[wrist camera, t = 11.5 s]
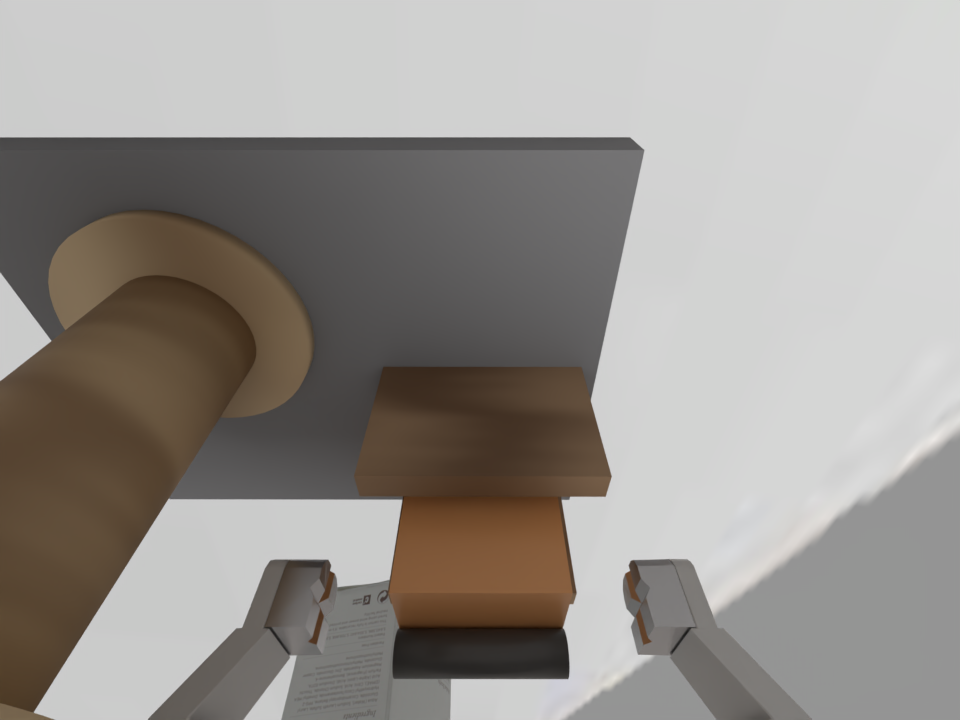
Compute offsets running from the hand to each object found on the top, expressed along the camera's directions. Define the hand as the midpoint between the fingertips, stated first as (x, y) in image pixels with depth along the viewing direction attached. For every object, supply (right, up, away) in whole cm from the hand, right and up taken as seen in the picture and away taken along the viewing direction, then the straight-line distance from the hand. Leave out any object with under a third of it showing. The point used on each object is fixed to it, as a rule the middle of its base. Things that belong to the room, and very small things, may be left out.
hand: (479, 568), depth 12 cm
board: (-4, +6, +2) cm, 8 cm away
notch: (0, +3, +3) cm, 4 cm away
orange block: (0, +3, +3) cm, 4 cm away
